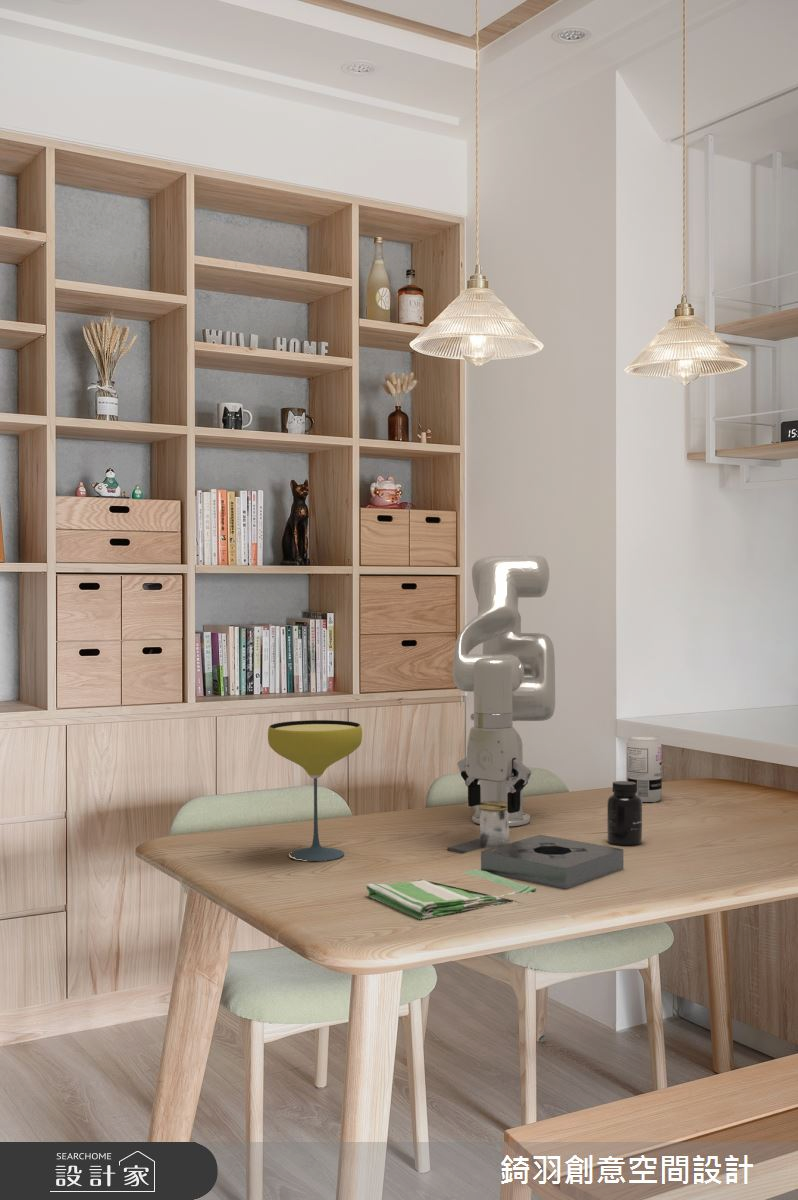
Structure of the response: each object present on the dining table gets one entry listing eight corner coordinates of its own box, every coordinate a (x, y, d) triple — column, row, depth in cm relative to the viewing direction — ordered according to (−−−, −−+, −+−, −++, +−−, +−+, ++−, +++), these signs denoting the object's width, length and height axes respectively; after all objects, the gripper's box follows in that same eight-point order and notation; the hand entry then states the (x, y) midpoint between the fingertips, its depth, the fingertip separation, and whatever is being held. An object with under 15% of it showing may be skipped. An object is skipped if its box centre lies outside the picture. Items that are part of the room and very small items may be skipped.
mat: (447, 850, 218) (447, 847, 218) (488, 839, 227) (488, 836, 227) (500, 860, 209) (500, 857, 209) (540, 848, 219) (540, 845, 219)
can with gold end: (473, 846, 218) (473, 804, 218) (492, 841, 222) (491, 799, 222) (497, 851, 214) (496, 807, 214) (515, 846, 218) (515, 803, 218)
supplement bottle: (642, 847, 219) (642, 786, 219) (607, 845, 221) (606, 785, 221) (642, 839, 226) (641, 780, 226) (607, 838, 228) (607, 779, 227)
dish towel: (539, 900, 184) (539, 883, 184) (422, 924, 171) (422, 906, 171) (474, 877, 199) (473, 862, 199) (361, 898, 186) (361, 882, 186)
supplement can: (622, 797, 272) (621, 736, 271) (655, 796, 272) (654, 735, 272) (632, 803, 264) (632, 740, 263) (666, 802, 264) (666, 739, 264)
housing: (481, 876, 197) (480, 851, 197) (540, 858, 211) (540, 834, 211) (566, 895, 185) (566, 868, 185) (623, 874, 199) (623, 849, 198)
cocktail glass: (270, 845, 223) (268, 720, 222) (360, 843, 224) (359, 719, 224) (267, 868, 205) (266, 732, 204) (365, 865, 206) (364, 730, 206)
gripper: (446, 719, 221) (447, 806, 221) (517, 727, 209) (518, 818, 210) (470, 716, 227) (471, 800, 227) (540, 723, 215) (541, 811, 215)
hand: (493, 808), depth 218 cm, fingers open, 9 cm apart
